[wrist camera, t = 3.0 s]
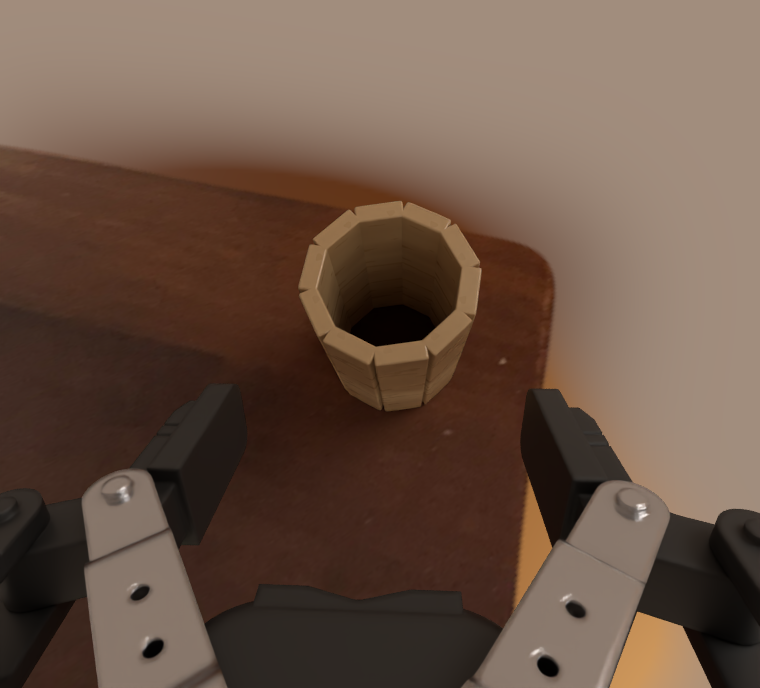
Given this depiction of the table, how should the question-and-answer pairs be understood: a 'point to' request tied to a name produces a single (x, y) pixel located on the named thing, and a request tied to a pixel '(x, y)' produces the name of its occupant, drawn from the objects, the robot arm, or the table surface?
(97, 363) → the table surface
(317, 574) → the table surface
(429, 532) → the table surface
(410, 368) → the tan hollow cylinder
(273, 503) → the table surface
